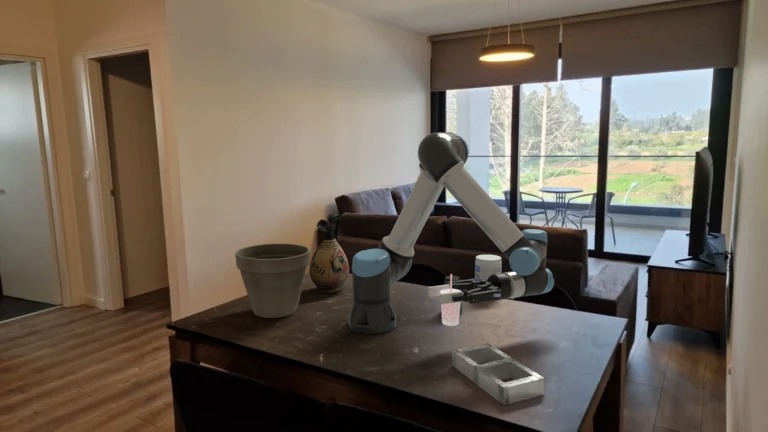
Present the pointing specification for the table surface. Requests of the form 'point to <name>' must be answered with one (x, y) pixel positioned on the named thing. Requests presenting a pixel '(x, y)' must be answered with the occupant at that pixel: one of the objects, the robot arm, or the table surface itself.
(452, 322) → the beverage cup
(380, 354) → the table surface
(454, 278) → the supplement bottle
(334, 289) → the ceramic jug
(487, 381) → the grey hollow block
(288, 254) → the plant pot
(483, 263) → the supplement tub
